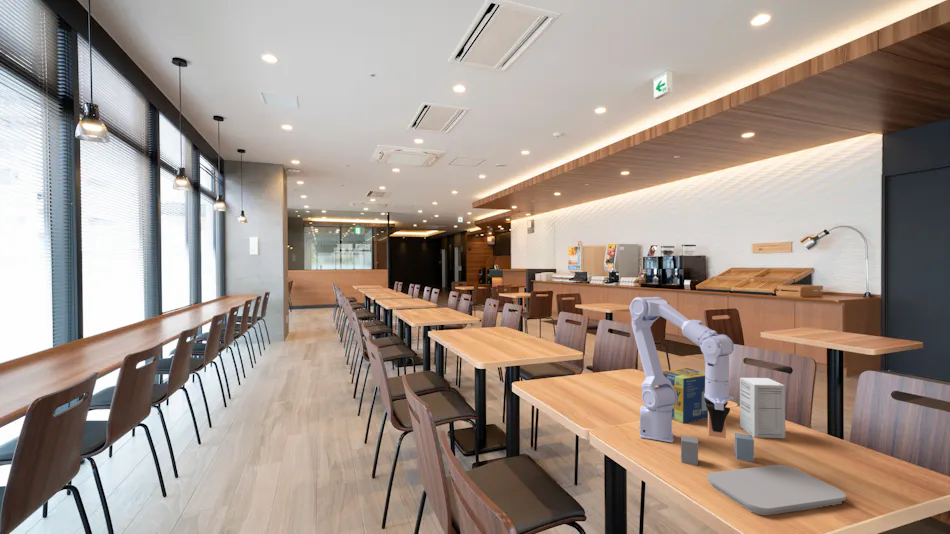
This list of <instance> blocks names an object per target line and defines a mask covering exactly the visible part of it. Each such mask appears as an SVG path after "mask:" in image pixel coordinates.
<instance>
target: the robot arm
mask: <svg viewBox="0 0 950 534" xmlns="http://www.w3.org/2000/svg"><path fill="white" fill-rule="evenodd" d="M628 309H629V313H630V317H631V324H630V325H631V328H632V332H633V336H634V340H635V343H636V347H637V351H638V354H639V358H640V362H641V365H642V369H643V373H644V377H645V378H644V380H643V382H642V383H641V385H640V387H641V401H642V404H644V405H640V410H639V411H640V412H639V423H638V424H639V426H638V429H639V437H640V438H642V439H648V440H655V441H660V442H668V443H674V432H673V419H672V409H673V405H674V404H675V403H676V402H677V393H676V391H675V389H674V388H673V386H672V384H671V381H670V380H669V379H667V378H666V377H665V376H664V375H663V372H664V371H663V368H662V364H661V361H660V358H659V354H658V351H657V346H656V344H655V340H654V336H653V333H652V328H651V327H652V325H653V324H654V322H656V320H658V319H659V318H660V317H661V318H663V319H665V320H666V321H668V322H669V323H672V324H673V325H674V326H676V327H677V328H680V330H681V333H682V335H683V337H685V338H687V339H688V340H690V341H691V342H692V343H694V344H695V345H696V346H698V347H699V348H700V351H701V353H702V354H703V358H704V359H703V361H704V362H705V363H704V365H705V366H704V368H705V369H704V373H705V393H704V397H705V398H704V400H705V402H706V407H707V409H708V411H709V414H710V418H711V424H712V429H713V431H715V432H722V430H723V427H724V422H725V419H726V420H727V416H728V414H729V413H730V411H731V408H730V407H729V406H728V407H727V405H728V403H729V401H734V400H735V397H734V396H733V395H729V394H730V355H731V354H733V352H734V349H735V346H734V342H733V341H732V339H731V338H730V337H729V336H728V335H727V334H723V333H722V334H719V333H717V331H716V330H712V329H711V328H710V327H708V326H706V325H705V324H703V323H704V322H703V321H702V320H700V319H689V318H687V317H686V316H684V315H683V314H682V313H680V312H679V311H678V310H676V309H675V308H674V307H673V306H671V305H670V304H669V303H668V301H667V300H665V299H663V298H662V297H660V296H652V297H651V296H647V297H641V296H638V297H637V296H636V297H635V298H633V299H632V301H631V302H630V305H629V307H628Z"/></svg>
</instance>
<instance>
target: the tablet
mask: <svg viewBox="0 0 950 534" xmlns="http://www.w3.org/2000/svg"><path fill="white" fill-rule="evenodd" d="M706 476H707V477H706V478H707V481H708V482H709V483H710V486H711V487H712V488H713V487H714V488H713V489H715V490H716V489H717V491H718V492H720V493H721V494H722V495H724V496H726V497H727V498H728V499H730V500H732V501H733V500H734V501H733V502H735V503H736V502H737V503H736V504H738V505H739V504H740V506H741V505H742V506H743V507H742V506H741V507H742V508H744V507H745V508H746V510H747V509H748V510H747V511H749V510H750V511H752V512H751V513H753V512H754V513H753V514H755V513H756V514H755V515H759V514H761V515H760V516H770V515H771V516H772V514H773V515H778V514H785V513H791V512H799V511H805V510H806V511H807V510H812V509H817V507H819V508H824V507H823V506H825V507H830V506H829V505H832V506H837V505H836V504H839V505H841V504H842V503H843V501H845V500H846V493H845V492H844V491H842V490H841V489H839V488H837V487H835V486H833V485H831V484H829V483H827V482H825V481H823V480H820V479H819V478H816V477H814V476H812V475H810V474H808V473H805V472H804V471H801V470H799V469H798V468H795V467H792V466H789V465H784V464H772V465H771V464H770V465H764V466H763V465H762V466H754V467H748V468H738V469H737V468H736V469H730V470H723V471H722V470H721V471H713V472H712V471H711V472H709V473H707V475H706ZM745 508H744V509H745ZM750 511H749V512H750Z"/></svg>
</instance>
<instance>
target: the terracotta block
mask: <svg viewBox="0 0 950 534" xmlns="http://www.w3.org/2000/svg"><path fill="white" fill-rule="evenodd" d="M707 433H708V437H713V438H714V437H715V438H721V439H727V438H726V437H727V418H726V419H725V422H724V427H723V430H722V432H715V431H713V429H712V424H711V418H710V414H709V411H708V418H707Z"/></svg>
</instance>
